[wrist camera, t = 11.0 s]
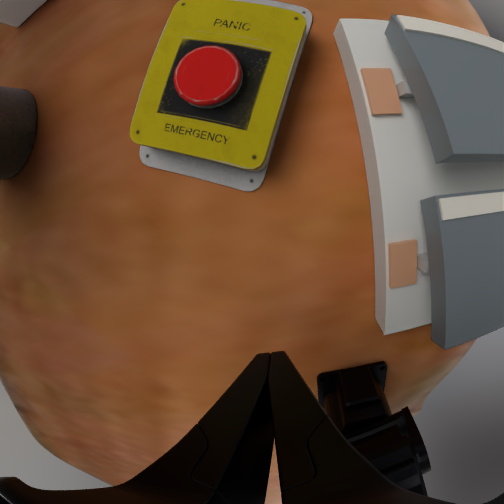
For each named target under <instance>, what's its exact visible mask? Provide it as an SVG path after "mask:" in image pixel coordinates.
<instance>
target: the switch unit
mask: <svg viewBox="0 0 504 504" xmlns="http://www.w3.org/2000/svg"><path fill="white" fill-rule="evenodd" d="M388 23H389V21H385V20H371V19H340V20H339V22H338V24H337V27H336V29H335V31H334V33H333V34H334V37H335V40H336V43H337V46H338V50H339V53H340V56H341V59H342V63H343V66H344V70H345V73H346V77H347V81H348V84H349V88H350V92H351V96H352V101H353V105H354V109H355V114H356V118H357V123H358V128H359V133H360V138H361V144H362V150H363V155H364V162H365V168H366V175H367V182H368V190H369V198H370V207H371V217H372V229H373V243H374V261H375V319H376V321H377V322H378V324H379V326H380V328H381V330H382V332H383V333H384V335H387V334H391V333H396V332H400V331H404V330H408V329H412V328H415V327H419V326H423V325H426V324H430V323H431V287H430V272H429V260H428V250H427V242H426V234H425V227H424V221H423V214H422V209H421V203H420V200H423V199H426V198H429V197H432V196H437V195H446V194H455V193H465V192H474V191H485V190H496V189H504V162H459V163H438V164H436V163H435V159H434V156H433V152H432V148H431V145H430V142H429V138H428V135H427V132H426V129H425V126H424V123H423V120H422V117H421V114H420V111H419V108H418V106H417V103H416V100H415V98H414V95H413V93H412V90H411V88H410V85H409V83H408V81H407V78H406V76H405V74H404V72H403V69H402V67H401V65H400V63H399V61H398V59H397V57H396V55H395V53H394V51H393V49H392V47H391V45H390V43H389V41H388V39H387V37H386V36H385V34H384V33H385V30H386V28H387V25H388Z"/></svg>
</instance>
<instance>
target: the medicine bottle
mask: <svg viewBox="0 0 504 504" xmlns="http://www.w3.org/2000/svg"><path fill="white" fill-rule="evenodd" d="M46 1H47V0H0V23H3V24H7V25H10V26H13V27H19V26H20V25H21V24H22V23H23V22H24V21H25V20H26V19H27V18H28V17H29V16H30V15H31V14H32V13H33V12H35V11H36V10H37V9H38V8H39V7H40V6H41V5H42V4H44V3H45V2H46Z"/></svg>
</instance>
